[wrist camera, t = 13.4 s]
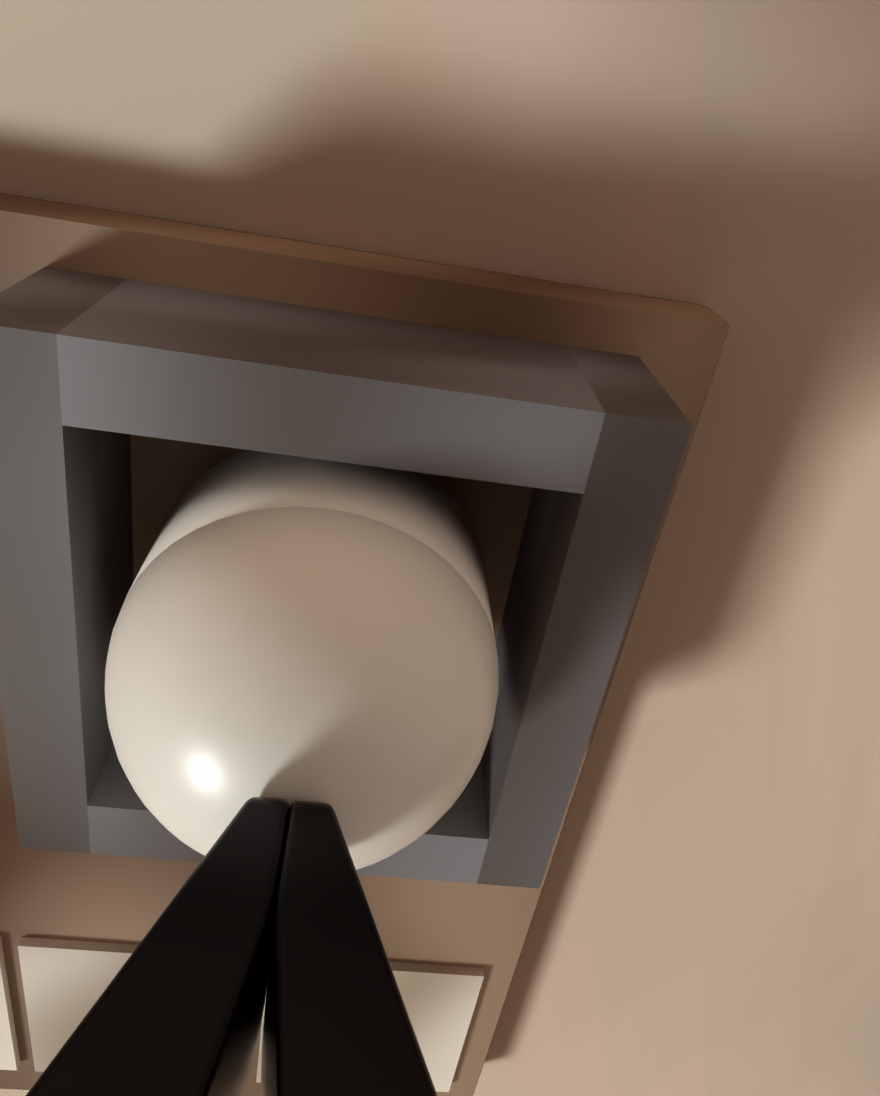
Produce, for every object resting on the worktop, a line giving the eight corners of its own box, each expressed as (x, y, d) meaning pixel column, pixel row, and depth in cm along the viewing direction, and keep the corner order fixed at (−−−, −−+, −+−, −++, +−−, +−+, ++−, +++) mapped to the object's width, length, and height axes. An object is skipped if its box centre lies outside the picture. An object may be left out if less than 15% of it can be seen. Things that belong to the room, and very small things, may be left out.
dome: (511, 451, 12) (568, 663, 8) (454, 711, 14) (474, 981, 10) (161, 403, 11) (19, 603, 7) (162, 681, 14) (56, 954, 9)
